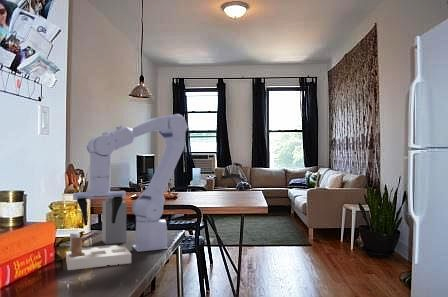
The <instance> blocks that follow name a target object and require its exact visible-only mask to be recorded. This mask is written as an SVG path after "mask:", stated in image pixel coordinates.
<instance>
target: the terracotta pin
mask: <svg viewBox="0 0 448 297" xmlns="http://www.w3.org/2000/svg"><path fill="white" fill-rule="evenodd" d="M82 240H83V238H82V237H74V238H71V257H77V256H82V248H83V247H82V246H83V245H82V244H83V241H82Z"/></svg>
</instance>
